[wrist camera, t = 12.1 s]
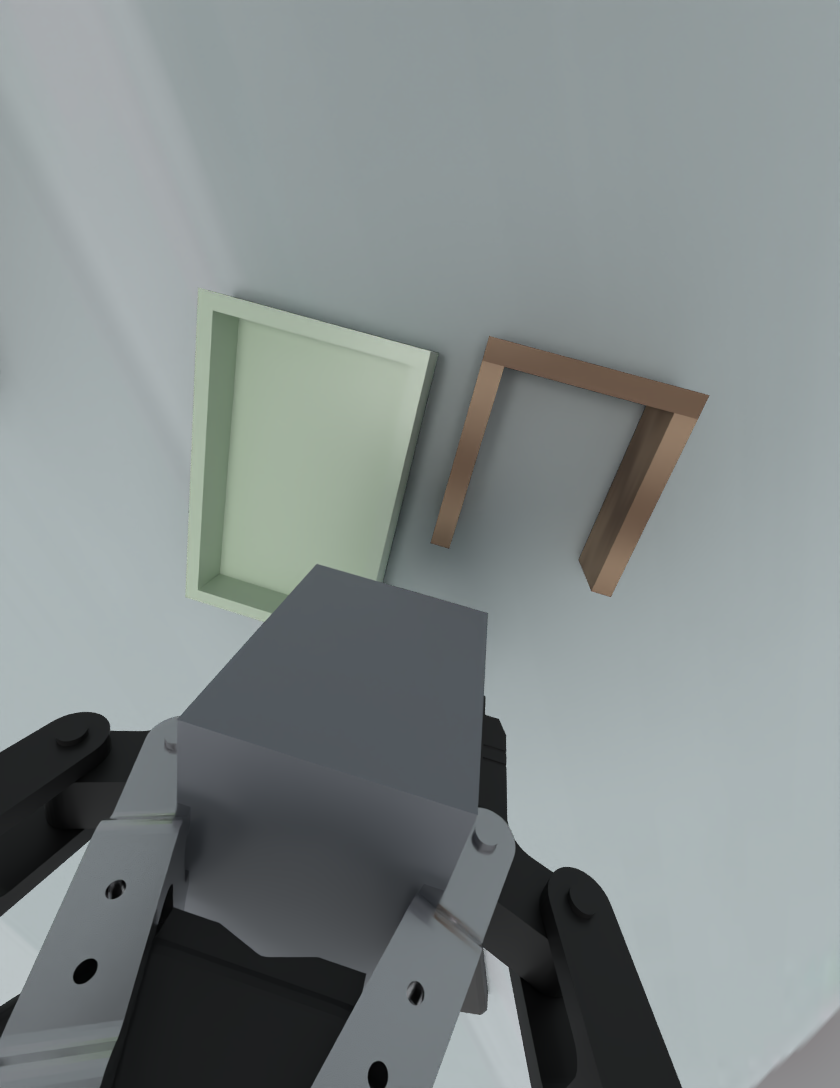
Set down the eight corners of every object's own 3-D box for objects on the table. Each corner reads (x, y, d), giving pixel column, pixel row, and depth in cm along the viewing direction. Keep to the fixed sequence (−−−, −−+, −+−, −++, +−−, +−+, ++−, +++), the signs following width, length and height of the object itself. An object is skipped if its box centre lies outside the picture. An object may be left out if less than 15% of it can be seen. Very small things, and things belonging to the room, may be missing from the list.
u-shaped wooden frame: (490, 341, 23) (489, 336, 19) (674, 390, 22) (709, 395, 19) (440, 518, 27) (430, 543, 23) (595, 564, 26) (610, 597, 23)
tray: (232, 296, 24) (198, 287, 21) (438, 353, 23) (430, 351, 21) (213, 576, 31) (185, 597, 28) (371, 626, 30) (359, 652, 28)
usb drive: (436, 979, 45) (432, 1015, 43) (422, 902, 41) (417, 937, 39) (488, 986, 44) (487, 1024, 42) (479, 908, 40) (477, 945, 38)
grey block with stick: (316, 563, 13) (177, 719, 7) (487, 613, 12) (477, 815, 7) (276, 836, 18) (176, 1048, 12) (396, 875, 17) (349, 1112, 12)
